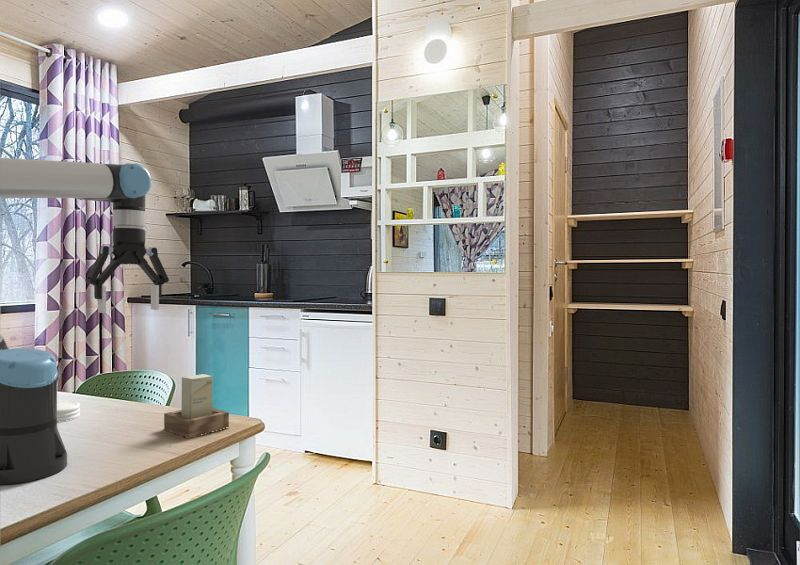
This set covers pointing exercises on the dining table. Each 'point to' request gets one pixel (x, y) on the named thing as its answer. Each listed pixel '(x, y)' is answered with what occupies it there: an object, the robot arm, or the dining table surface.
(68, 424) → the dining table surface
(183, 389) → the skincare box
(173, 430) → the holder
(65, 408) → the white round piece
